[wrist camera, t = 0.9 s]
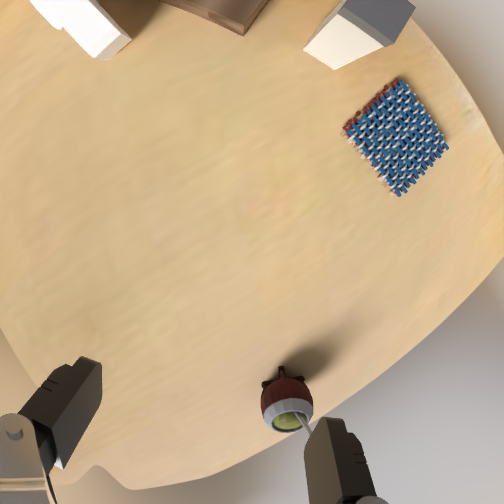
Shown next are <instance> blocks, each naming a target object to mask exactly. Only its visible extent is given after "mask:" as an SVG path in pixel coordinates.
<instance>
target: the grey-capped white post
mask: <svg viewBox="0 0 504 504" xmlns="http://www.w3.org/2000/svg"><path fill="white" fill-rule="evenodd" d="M414 9H415V6H414V5H412V4H411V3H410V2H409V1H407V0H342V1H341V2H340V3H339V4H338V6H337V7H336V8H335V9H334V10H333V11H332V12H331V13H330V14H329V15H328V16H327V17H326V18H325V20H324V21H323V22H322V23H321V24H320V25H319V27H318V28H317V30H316V31H315V33H314V34H313V36H312V37H311V39H310V40H309V41H308V43H307V44H306V46H305V47H304V49H303V50H304V51H305V52H307V53H309V54H310V55H312V56H314V57H315V58H317V59H318V60H320V61H321V62H323V63H325V64H326V65H328V66H329V67H331V68H332V69H334V70H336V69H338V68H340V67H342V66H344V65H346V64H348V63H350V62H352V61H354V60H356V59H358V58H360V57H363V56H365V55H367V54H369V53H371V52H373V51H375V50H378V49H380V48H382V47H387V46H389V45H391V44H393V43H394V42H395V41H396V39H397V38H398V36H399V34H400V33H401V31H402V29H403V28H404V26H405V24H406V23H407V21H408V19H409V18H410V16H411V14H412V13H413V11H414Z"/></svg>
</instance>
